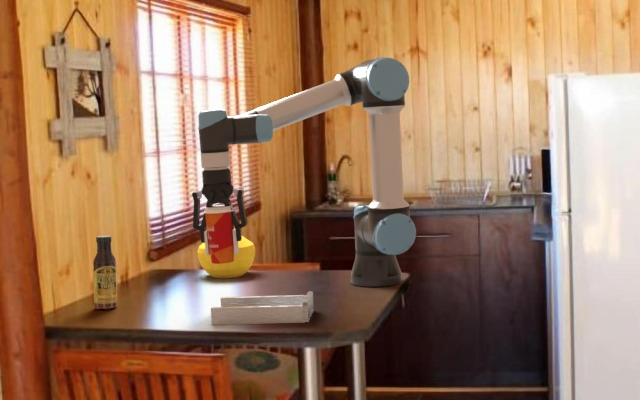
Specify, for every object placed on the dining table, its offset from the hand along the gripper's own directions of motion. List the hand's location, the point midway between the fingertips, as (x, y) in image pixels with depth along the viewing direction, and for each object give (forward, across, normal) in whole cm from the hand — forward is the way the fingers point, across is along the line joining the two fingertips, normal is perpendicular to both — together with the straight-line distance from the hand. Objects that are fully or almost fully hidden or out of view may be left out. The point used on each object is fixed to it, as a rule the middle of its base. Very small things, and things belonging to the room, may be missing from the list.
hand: (222, 253), depth 251 cm
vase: (+15, +9, -47) cm, 50 cm away
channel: (+14, -12, +14) cm, 24 cm away
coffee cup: (+2, 0, 0) cm, 2 cm away
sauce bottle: (+14, +34, -2) cm, 36 cm away
